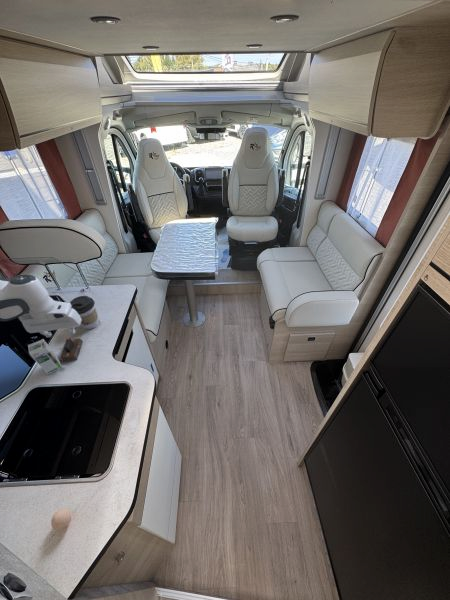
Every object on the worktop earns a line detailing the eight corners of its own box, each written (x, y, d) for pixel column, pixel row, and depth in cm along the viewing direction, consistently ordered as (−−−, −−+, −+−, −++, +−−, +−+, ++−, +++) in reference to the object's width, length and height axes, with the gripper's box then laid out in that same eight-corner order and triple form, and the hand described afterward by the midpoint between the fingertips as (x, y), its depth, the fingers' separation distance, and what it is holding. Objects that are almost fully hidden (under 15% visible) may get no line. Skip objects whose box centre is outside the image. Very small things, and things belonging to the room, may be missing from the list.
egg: (66, 533, 69) (56, 531, 65) (53, 527, 70) (42, 524, 66) (77, 513, 72) (69, 509, 68) (64, 508, 73) (55, 504, 69)
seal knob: (70, 351, 111) (66, 346, 108) (66, 352, 111) (62, 347, 108) (73, 342, 115) (70, 337, 112) (70, 343, 115) (66, 338, 112)
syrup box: (47, 375, 106) (28, 354, 96) (45, 365, 110) (27, 344, 100) (62, 368, 108) (45, 347, 99) (59, 359, 112) (43, 337, 102)
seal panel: (81, 359, 112) (78, 354, 109) (59, 362, 111) (55, 358, 109) (86, 341, 119) (83, 337, 117) (66, 344, 118) (62, 340, 116)
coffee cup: (75, 332, 124) (61, 310, 114) (86, 315, 132) (74, 293, 122) (97, 332, 123) (85, 310, 113) (107, 316, 131) (96, 294, 121)
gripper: (12, 320, 94) (32, 344, 103) (69, 313, 96) (84, 336, 105) (19, 309, 99) (38, 332, 108) (74, 302, 101) (88, 325, 110)
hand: (61, 334), depth 107 cm, fingers open, 8 cm apart
